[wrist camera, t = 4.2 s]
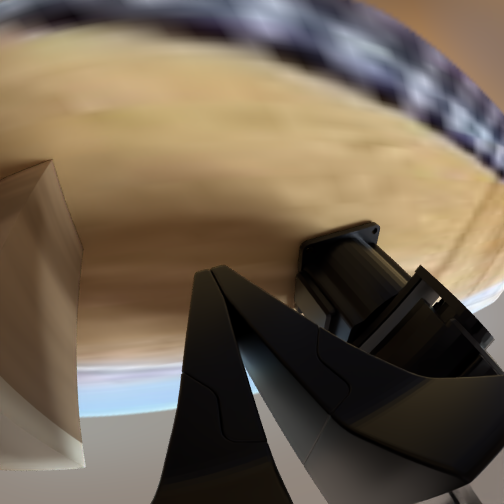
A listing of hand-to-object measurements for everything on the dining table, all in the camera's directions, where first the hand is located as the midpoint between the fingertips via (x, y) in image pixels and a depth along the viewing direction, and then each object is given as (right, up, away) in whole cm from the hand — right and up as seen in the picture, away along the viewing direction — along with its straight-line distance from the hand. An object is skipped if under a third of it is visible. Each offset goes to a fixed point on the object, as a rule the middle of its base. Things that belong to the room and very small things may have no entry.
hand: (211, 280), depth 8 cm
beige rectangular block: (-10, +2, +4) cm, 11 cm away
